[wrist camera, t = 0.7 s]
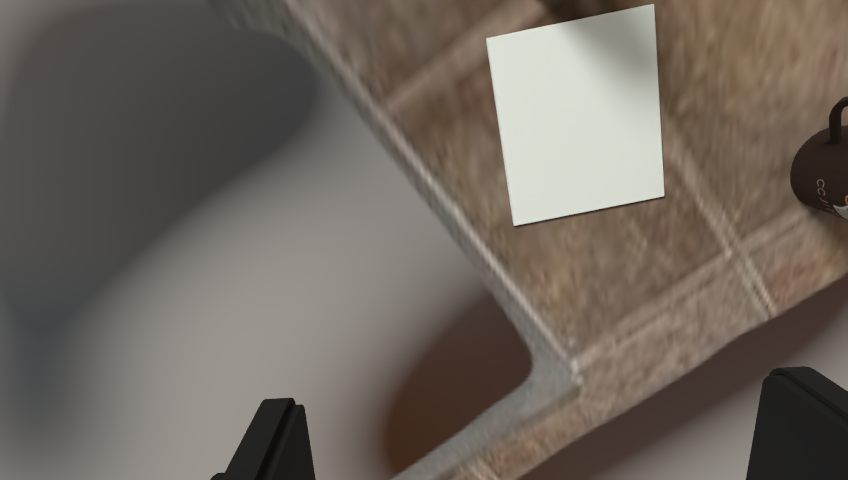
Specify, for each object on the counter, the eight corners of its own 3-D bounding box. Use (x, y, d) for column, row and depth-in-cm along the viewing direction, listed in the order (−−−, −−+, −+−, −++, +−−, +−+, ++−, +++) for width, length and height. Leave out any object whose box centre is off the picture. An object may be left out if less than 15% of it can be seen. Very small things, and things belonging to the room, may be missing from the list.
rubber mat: (651, 4, 32) (654, 3, 32) (662, 195, 36) (664, 196, 36) (485, 38, 33) (486, 38, 32) (513, 224, 36) (514, 226, 36)
